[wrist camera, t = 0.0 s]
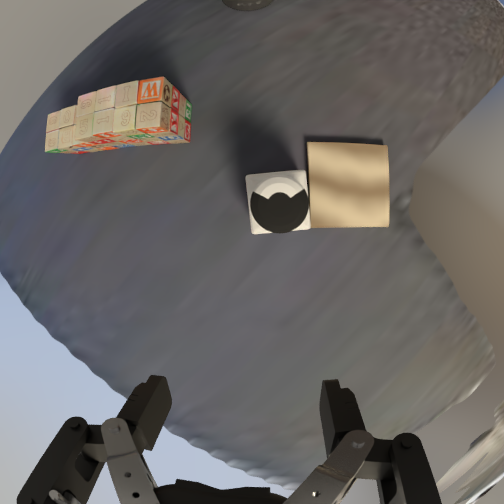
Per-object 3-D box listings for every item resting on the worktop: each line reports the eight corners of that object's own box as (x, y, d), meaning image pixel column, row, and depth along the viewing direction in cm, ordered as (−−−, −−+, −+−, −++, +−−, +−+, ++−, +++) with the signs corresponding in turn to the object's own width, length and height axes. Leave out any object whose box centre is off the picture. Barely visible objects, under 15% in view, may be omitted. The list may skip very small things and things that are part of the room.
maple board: (306, 143, 37) (307, 142, 36) (384, 146, 36) (387, 145, 35) (309, 226, 40) (310, 227, 39) (385, 225, 39) (388, 226, 38)
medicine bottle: (304, 222, 40) (317, 236, 28) (255, 226, 40) (248, 243, 29) (299, 172, 38) (311, 166, 26) (249, 177, 39) (240, 172, 27)
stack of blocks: (78, 155, 40) (30, 151, 28) (81, 121, 38) (34, 110, 26) (191, 142, 38) (159, 126, 26) (193, 103, 37) (164, 75, 25)
